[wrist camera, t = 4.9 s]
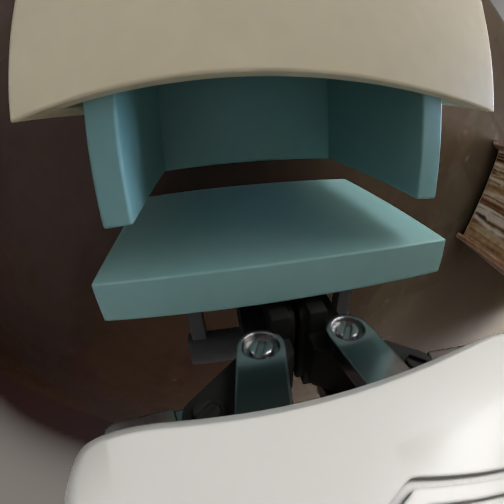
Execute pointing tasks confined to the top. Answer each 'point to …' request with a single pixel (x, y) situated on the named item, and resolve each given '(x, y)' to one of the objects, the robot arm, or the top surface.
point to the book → (489, 217)
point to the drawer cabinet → (242, 47)
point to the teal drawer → (257, 196)
